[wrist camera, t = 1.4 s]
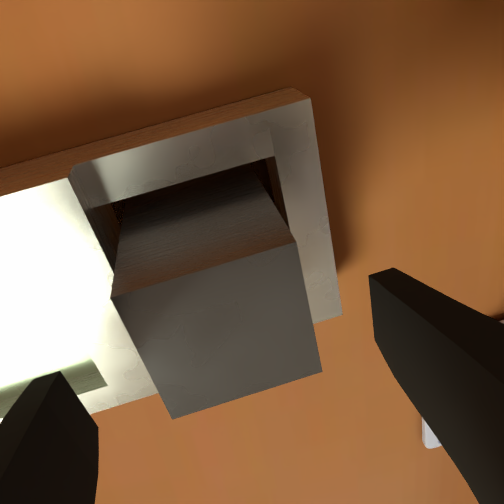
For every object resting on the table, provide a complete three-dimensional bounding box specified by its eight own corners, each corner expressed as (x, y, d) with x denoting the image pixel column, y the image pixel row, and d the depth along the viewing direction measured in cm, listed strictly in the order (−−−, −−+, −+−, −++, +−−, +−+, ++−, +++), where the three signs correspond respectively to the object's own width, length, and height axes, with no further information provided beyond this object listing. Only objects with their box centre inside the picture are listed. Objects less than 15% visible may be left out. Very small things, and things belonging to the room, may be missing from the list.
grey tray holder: (291, 86, 14) (322, 105, 11) (324, 285, 18) (353, 332, 15) (-220, 230, 13) (-315, 286, 10) (-60, 402, 17) (-98, 473, 14)
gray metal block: (246, 158, 14) (296, 241, 9) (271, 259, 17) (322, 371, 12) (126, 193, 14) (110, 298, 9) (167, 291, 16) (172, 419, 11)
